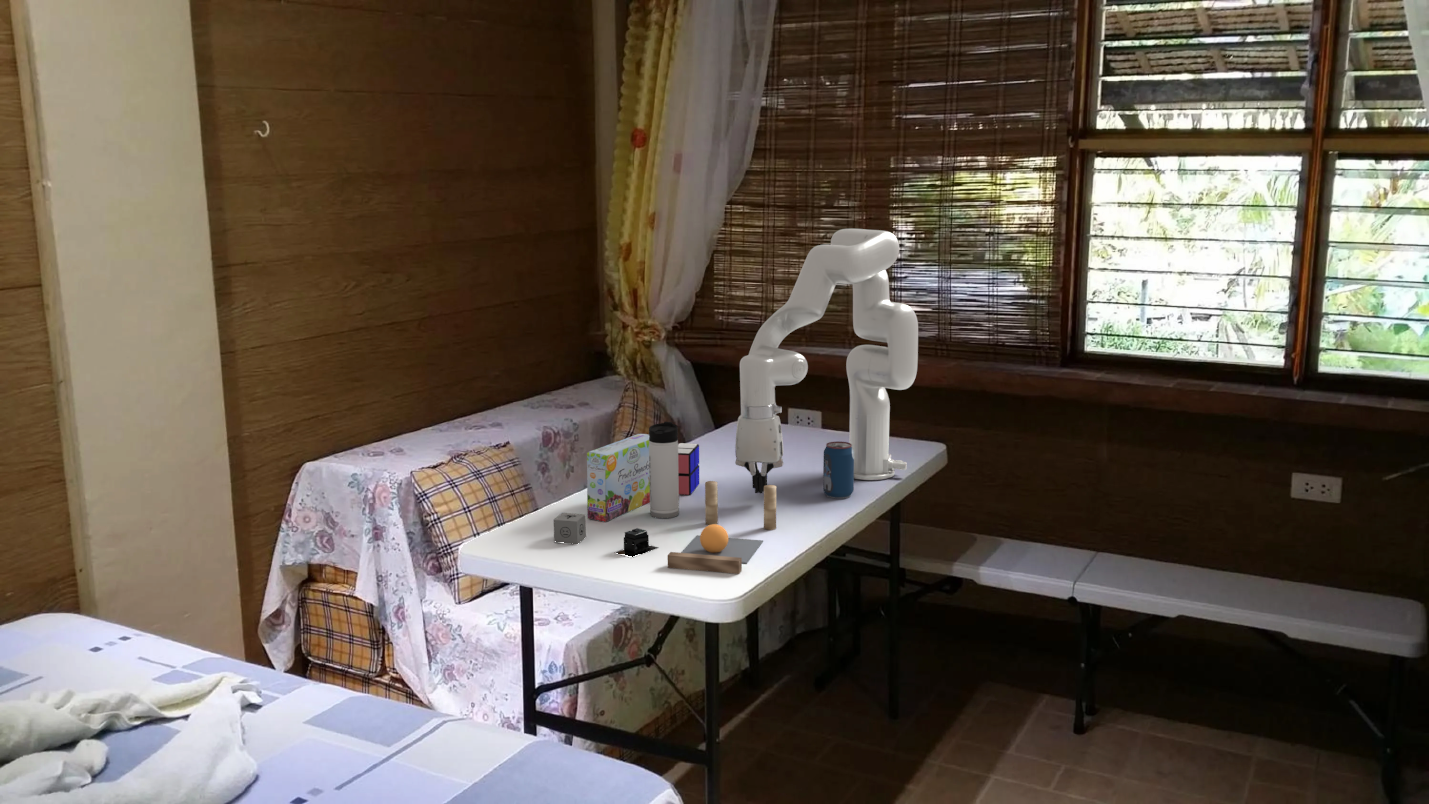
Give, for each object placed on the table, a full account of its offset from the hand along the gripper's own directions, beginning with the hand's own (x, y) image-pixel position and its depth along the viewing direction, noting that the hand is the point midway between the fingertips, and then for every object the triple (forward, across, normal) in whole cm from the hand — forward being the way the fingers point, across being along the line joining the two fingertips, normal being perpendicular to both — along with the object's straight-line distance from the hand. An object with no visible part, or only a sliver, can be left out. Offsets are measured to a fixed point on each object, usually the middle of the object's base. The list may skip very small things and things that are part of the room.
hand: (760, 491), depth 276 cm
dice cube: (+2, +32, +34) cm, 46 cm away
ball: (-1, +1, +34) cm, 34 cm away
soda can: (+4, -15, -12) cm, 20 cm away
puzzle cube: (+3, +23, -8) cm, 24 cm away
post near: (+3, -6, +16) cm, 17 cm away
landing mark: (+2, 0, +32) cm, 32 cm away
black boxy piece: (+3, +17, +36) cm, 40 cm away
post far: (+3, +7, +16) cm, 18 cm away
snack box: (+3, +28, +10) cm, 30 cm away
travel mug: (+3, +18, +12) cm, 22 cm away
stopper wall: (+2, 0, +44) cm, 44 cm away
